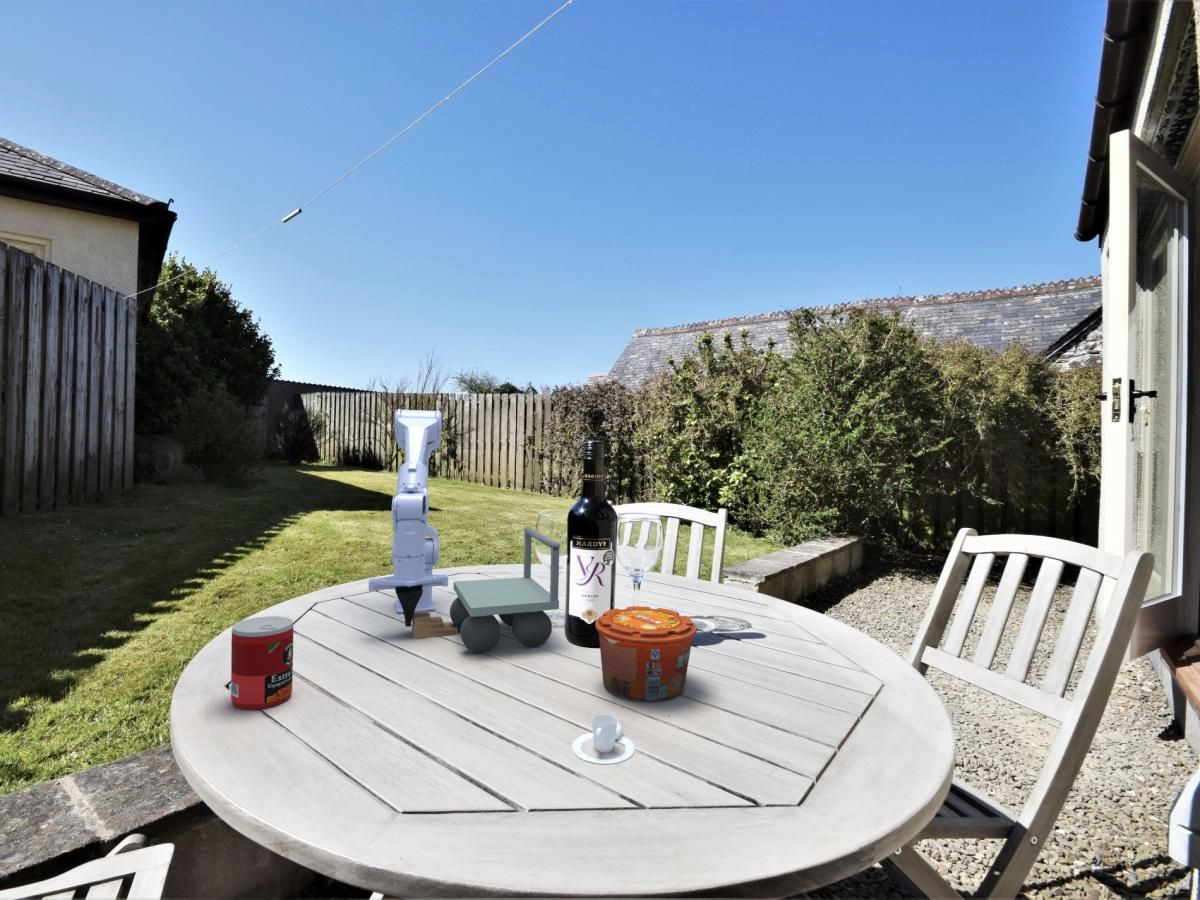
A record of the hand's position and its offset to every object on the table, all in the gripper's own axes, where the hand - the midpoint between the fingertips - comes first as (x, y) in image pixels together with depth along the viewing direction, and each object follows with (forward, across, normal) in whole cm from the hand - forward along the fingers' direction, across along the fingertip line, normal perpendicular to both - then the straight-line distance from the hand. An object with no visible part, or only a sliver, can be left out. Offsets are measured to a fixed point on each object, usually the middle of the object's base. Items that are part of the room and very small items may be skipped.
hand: (408, 625), depth 118 cm
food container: (+2, +33, -36) cm, 49 cm away
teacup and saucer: (+3, +22, -52) cm, 57 cm away
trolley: (+2, +16, -6) cm, 17 cm away
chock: (+2, +5, 0) cm, 5 cm away
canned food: (+2, -22, -23) cm, 32 cm away
